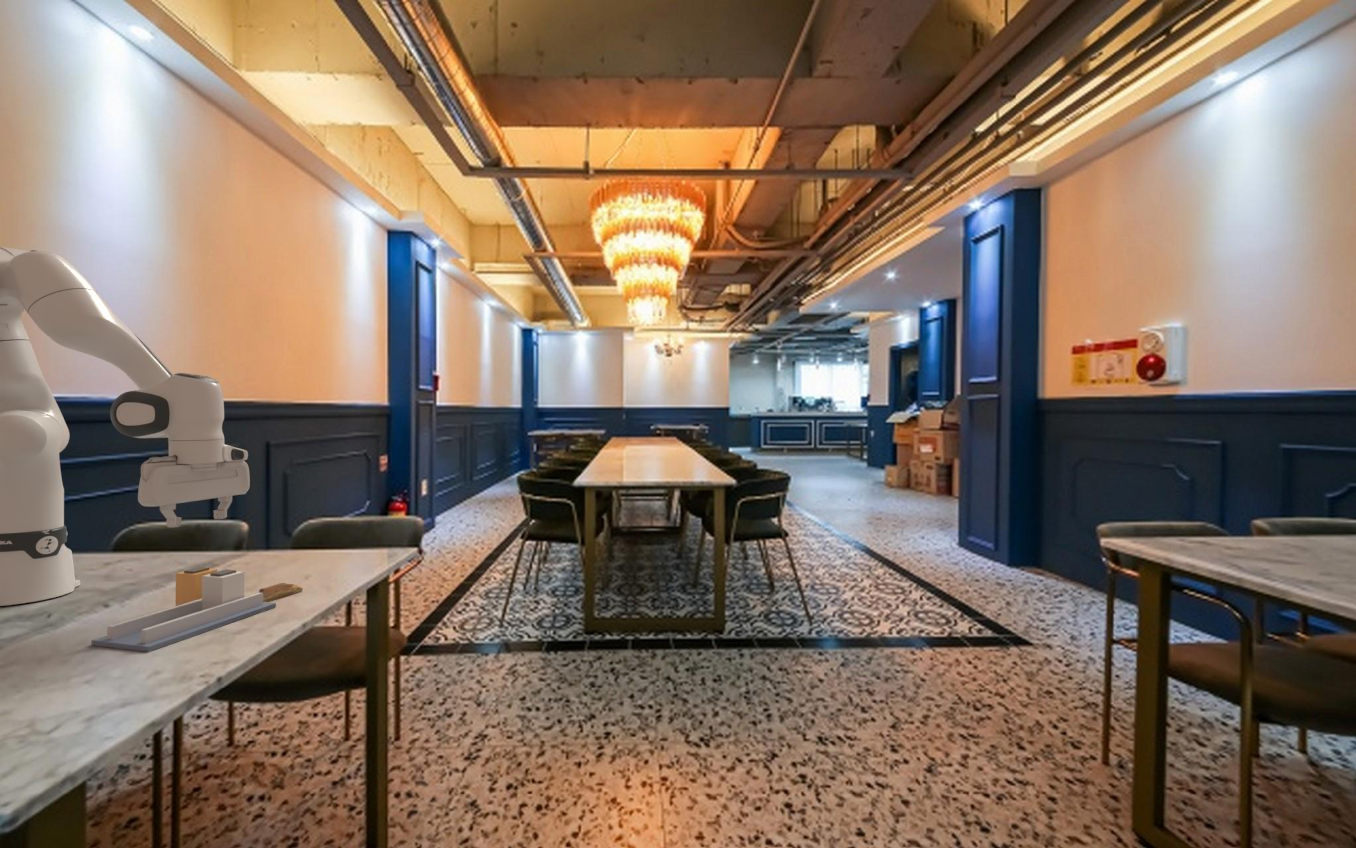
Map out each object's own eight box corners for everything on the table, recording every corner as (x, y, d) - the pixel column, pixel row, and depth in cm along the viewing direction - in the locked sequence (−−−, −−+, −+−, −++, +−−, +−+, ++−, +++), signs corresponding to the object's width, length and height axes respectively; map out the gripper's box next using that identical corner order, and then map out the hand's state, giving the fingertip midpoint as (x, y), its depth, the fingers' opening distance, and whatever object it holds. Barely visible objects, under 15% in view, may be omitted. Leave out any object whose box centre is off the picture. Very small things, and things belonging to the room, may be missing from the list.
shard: (257, 608, 122) (257, 599, 122) (229, 604, 124) (229, 595, 124) (304, 593, 132) (304, 585, 132) (277, 590, 135) (277, 582, 135)
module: (175, 608, 120) (175, 571, 120) (197, 601, 124) (198, 565, 124) (195, 610, 119) (195, 572, 119) (216, 603, 123) (217, 567, 123)
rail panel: (91, 645, 100) (91, 596, 100) (226, 602, 123) (227, 562, 123) (148, 651, 98) (149, 601, 97) (275, 607, 121) (276, 566, 121)
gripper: (155, 458, 110) (156, 533, 110) (255, 451, 130) (255, 514, 130) (128, 457, 111) (129, 531, 112) (231, 451, 131) (231, 513, 132)
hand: (198, 522), depth 121 cm, fingers open, 8 cm apart
